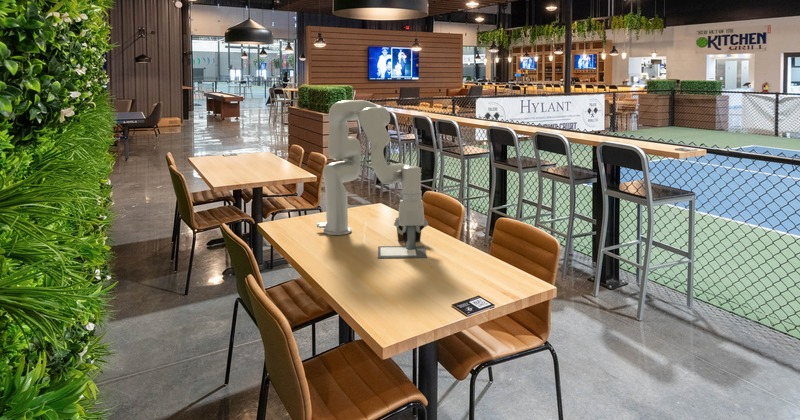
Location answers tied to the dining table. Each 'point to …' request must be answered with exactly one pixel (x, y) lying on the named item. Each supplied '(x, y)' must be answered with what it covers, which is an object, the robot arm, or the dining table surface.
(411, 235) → the marker
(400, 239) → the food container
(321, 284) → the dining table surface
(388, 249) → the mat
